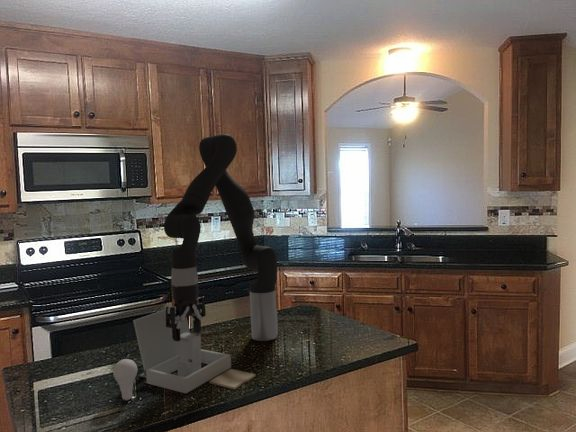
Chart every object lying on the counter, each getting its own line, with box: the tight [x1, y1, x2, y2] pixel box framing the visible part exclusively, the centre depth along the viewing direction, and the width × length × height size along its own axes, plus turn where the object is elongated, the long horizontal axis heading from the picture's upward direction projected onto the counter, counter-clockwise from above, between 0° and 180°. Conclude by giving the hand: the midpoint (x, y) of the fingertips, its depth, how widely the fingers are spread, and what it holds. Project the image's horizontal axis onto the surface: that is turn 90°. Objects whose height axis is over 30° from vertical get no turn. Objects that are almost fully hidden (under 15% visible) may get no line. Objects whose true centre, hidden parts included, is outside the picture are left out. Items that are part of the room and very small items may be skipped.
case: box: [145, 348, 232, 394], centre depth 145 cm, size 20×15×4 cm
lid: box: [132, 308, 191, 371], centre depth 149 cm, size 20×14×1 cm
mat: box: [208, 368, 256, 390], centre depth 140 cm, size 10×9×1 cm
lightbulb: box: [112, 358, 138, 401], centre depth 129 cm, size 6×6×11 cm
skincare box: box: [177, 332, 202, 377], centre depth 144 cm, size 6×4×12 cm
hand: (187, 336), depth 144 cm, fingers open, 8 cm apart
